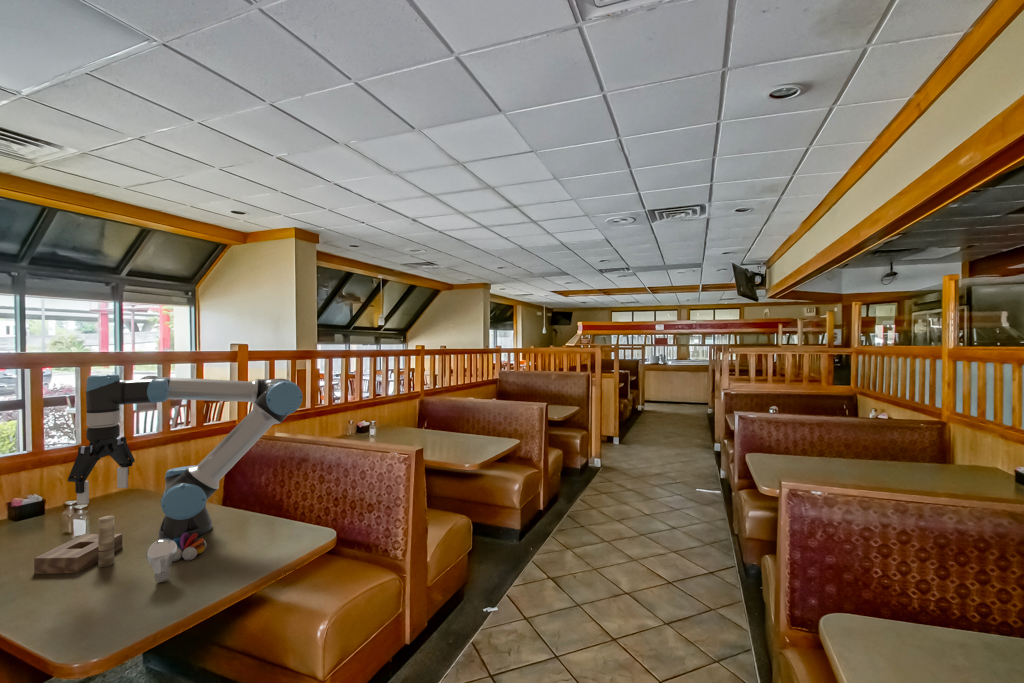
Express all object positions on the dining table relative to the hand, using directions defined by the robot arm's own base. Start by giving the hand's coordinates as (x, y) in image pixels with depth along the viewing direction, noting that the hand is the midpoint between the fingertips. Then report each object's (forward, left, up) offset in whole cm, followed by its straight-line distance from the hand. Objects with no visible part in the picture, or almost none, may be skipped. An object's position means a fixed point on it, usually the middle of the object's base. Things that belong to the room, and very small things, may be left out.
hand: (103, 495), depth 136 cm
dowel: (-1, 0, -21) cm, 21 cm away
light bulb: (-25, +11, -21) cm, 35 cm away
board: (+9, -3, -21) cm, 23 cm away
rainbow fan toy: (-22, -4, -21) cm, 31 cm away
